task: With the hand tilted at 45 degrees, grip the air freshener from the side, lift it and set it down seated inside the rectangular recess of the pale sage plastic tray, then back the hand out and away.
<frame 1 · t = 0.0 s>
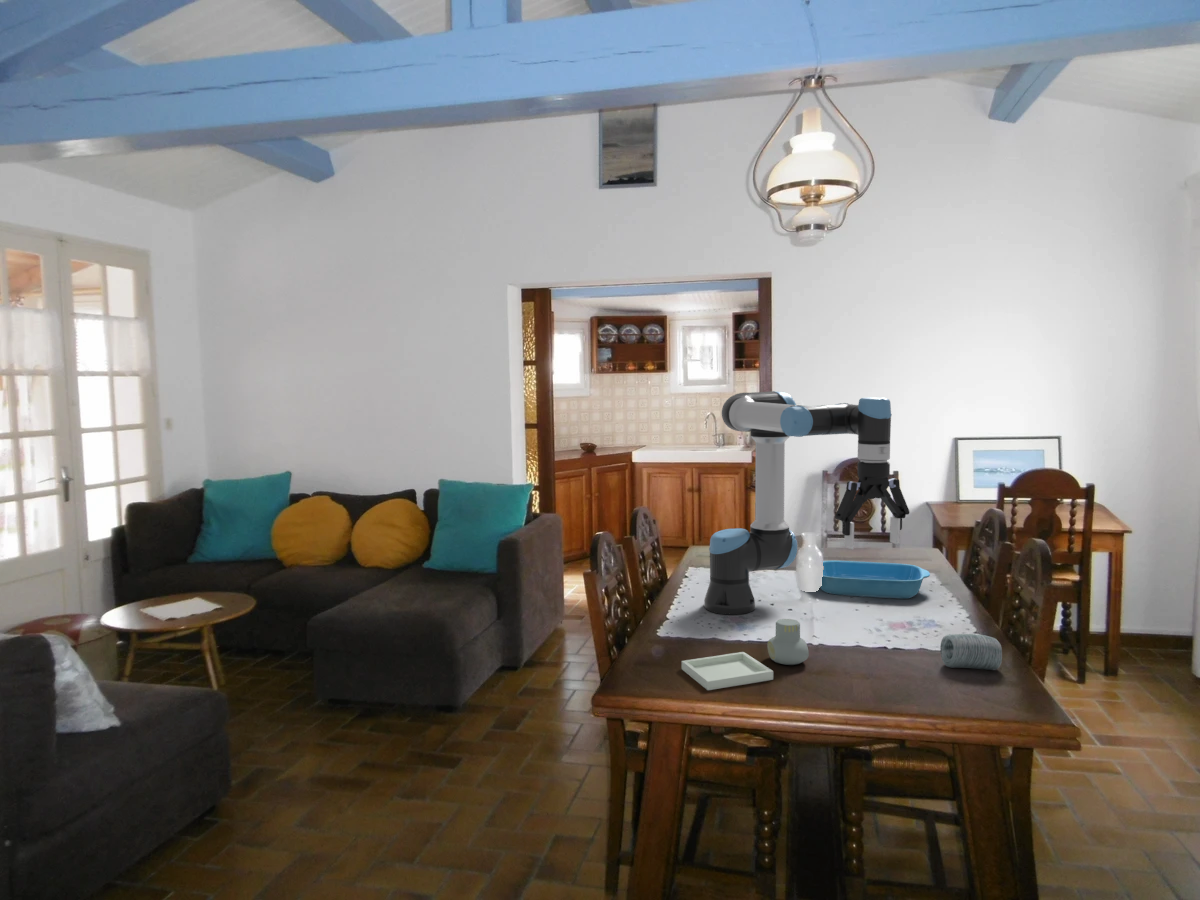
hand: (872, 545, 204), 28 cm above the table, fingers open, 13 cm apart
spool: (970, 668, 198), on the table
casserole dish: (867, 591, 266), on the table
sage tray: (726, 676, 197), on the table
air freshener: (787, 662, 204), on the table
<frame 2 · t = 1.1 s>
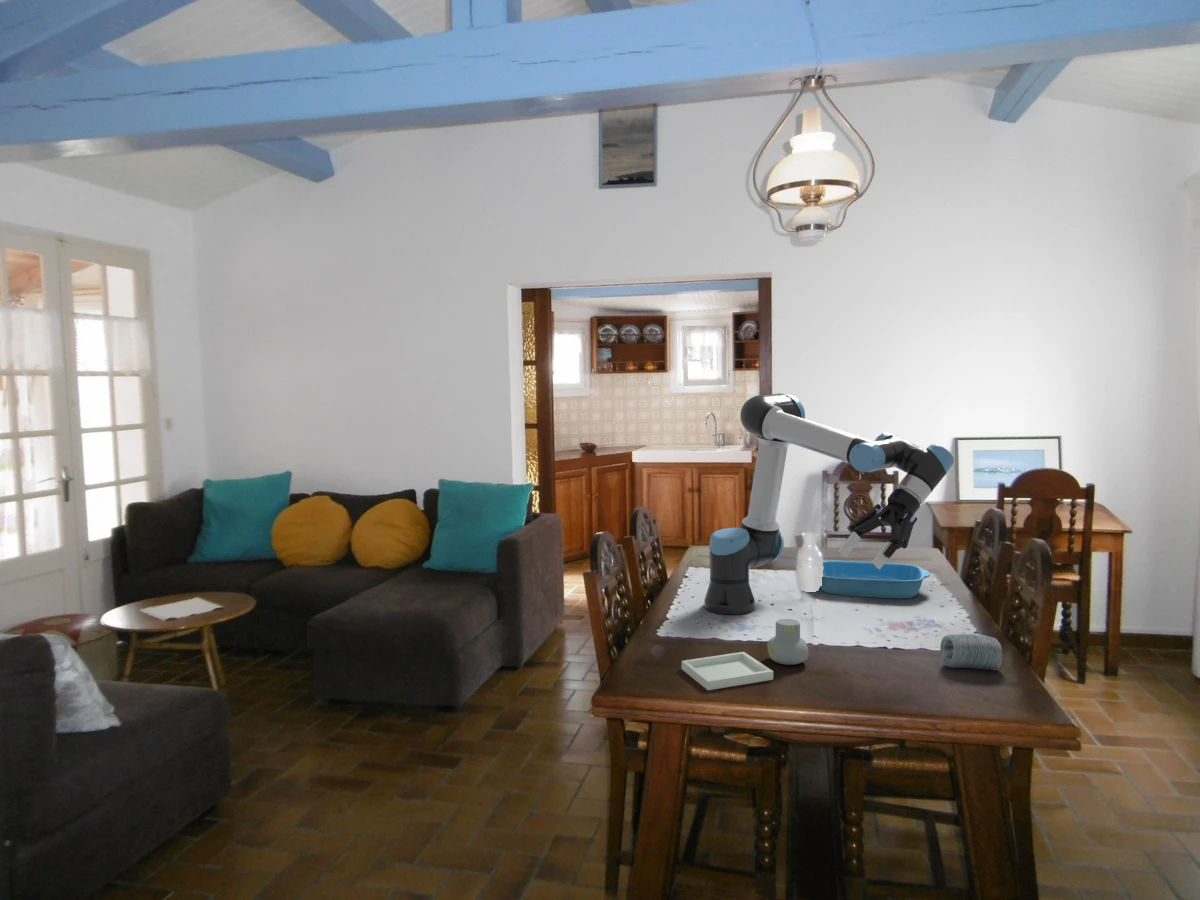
hand: (858, 559, 208), 24 cm above the table, fingers open, 13 cm apart
nothing on the table moved.
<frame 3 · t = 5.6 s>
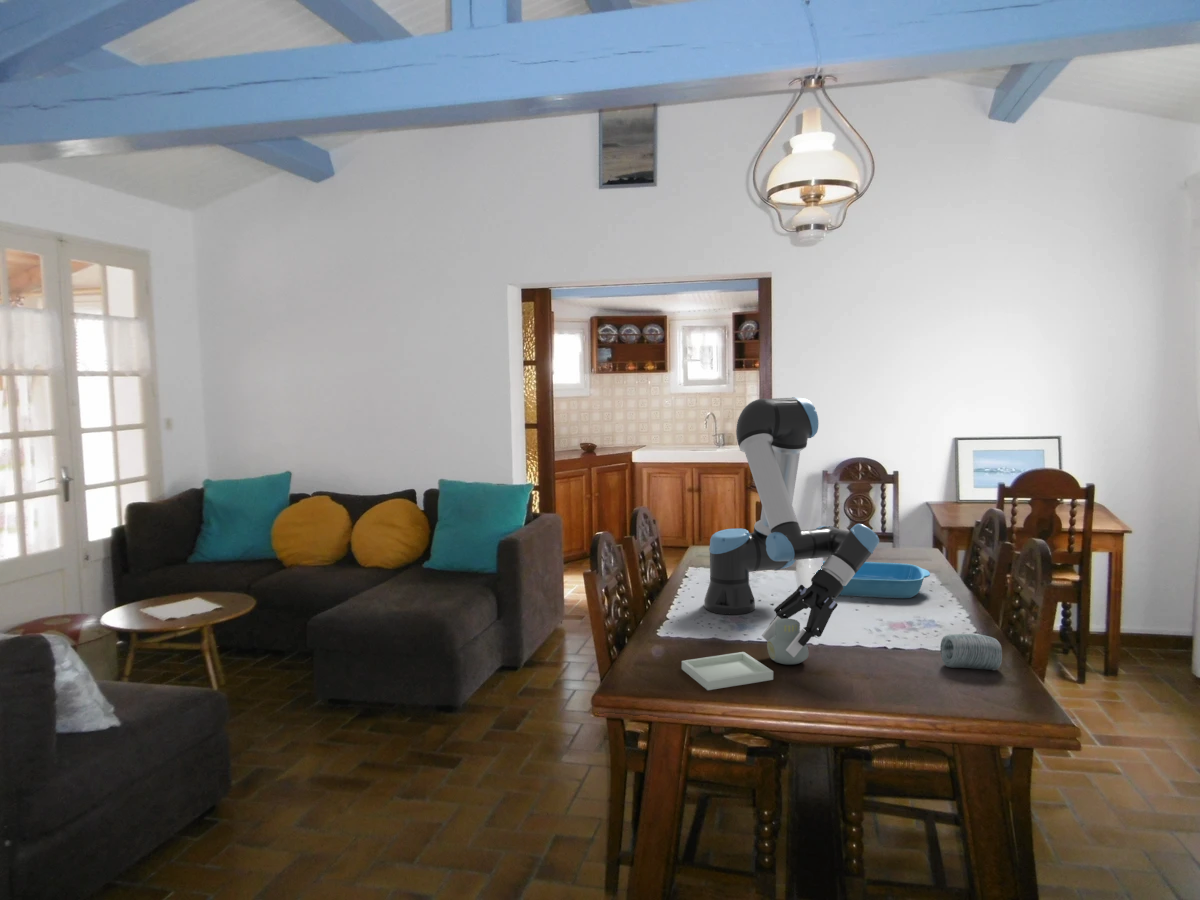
hand: (777, 646, 203), 4 cm above the table, fingers closed on air freshener, 11 cm apart
air freshener: (787, 661, 204), on the table, touching gripper
everything else where it was.
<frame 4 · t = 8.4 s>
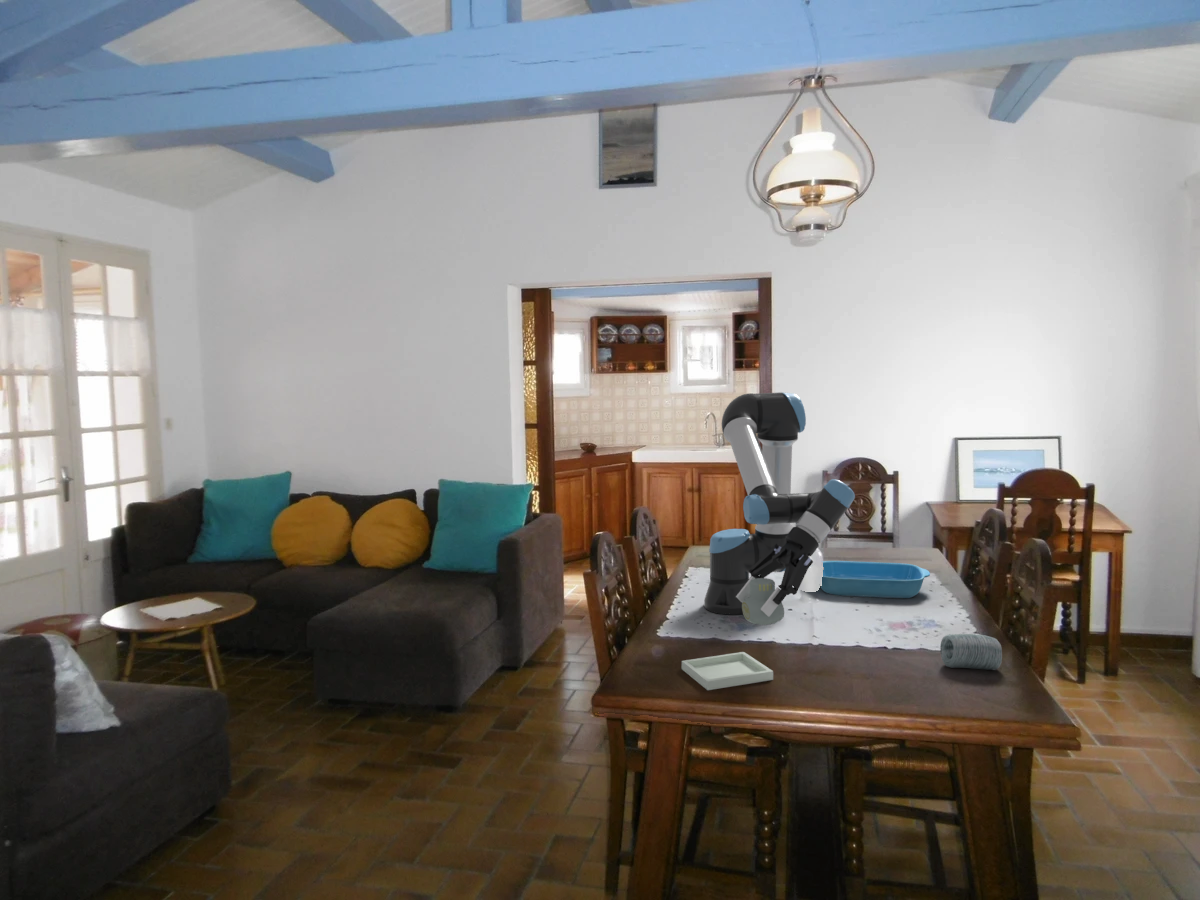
hand: (752, 606, 196), 16 cm above the table, fingers closed on air freshener, 10 cm apart
air freshener: (762, 622, 198), point 12 cm above the table, touching gripper
everything else where it was.
when the fingers open (6 cm above the table, at t = 11.4 s): air freshener drops 2 cm, resting on sage tray.
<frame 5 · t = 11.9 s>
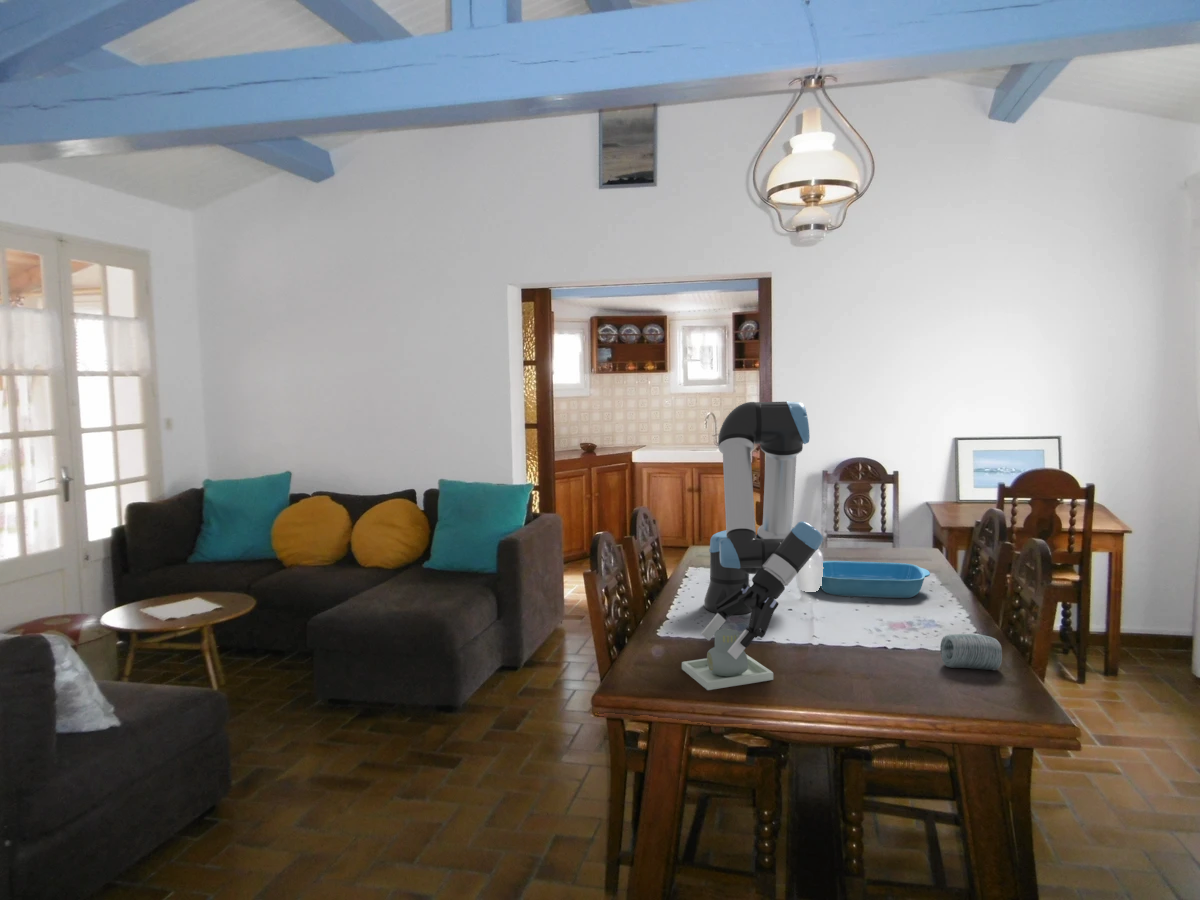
hand: (717, 646, 195), 7 cm above the table, fingers open, 13 cm apart
sage tray: (726, 677, 197), on the table, touching air freshener
air freshener: (727, 673, 197), resting on sage tray
everything else where it was.
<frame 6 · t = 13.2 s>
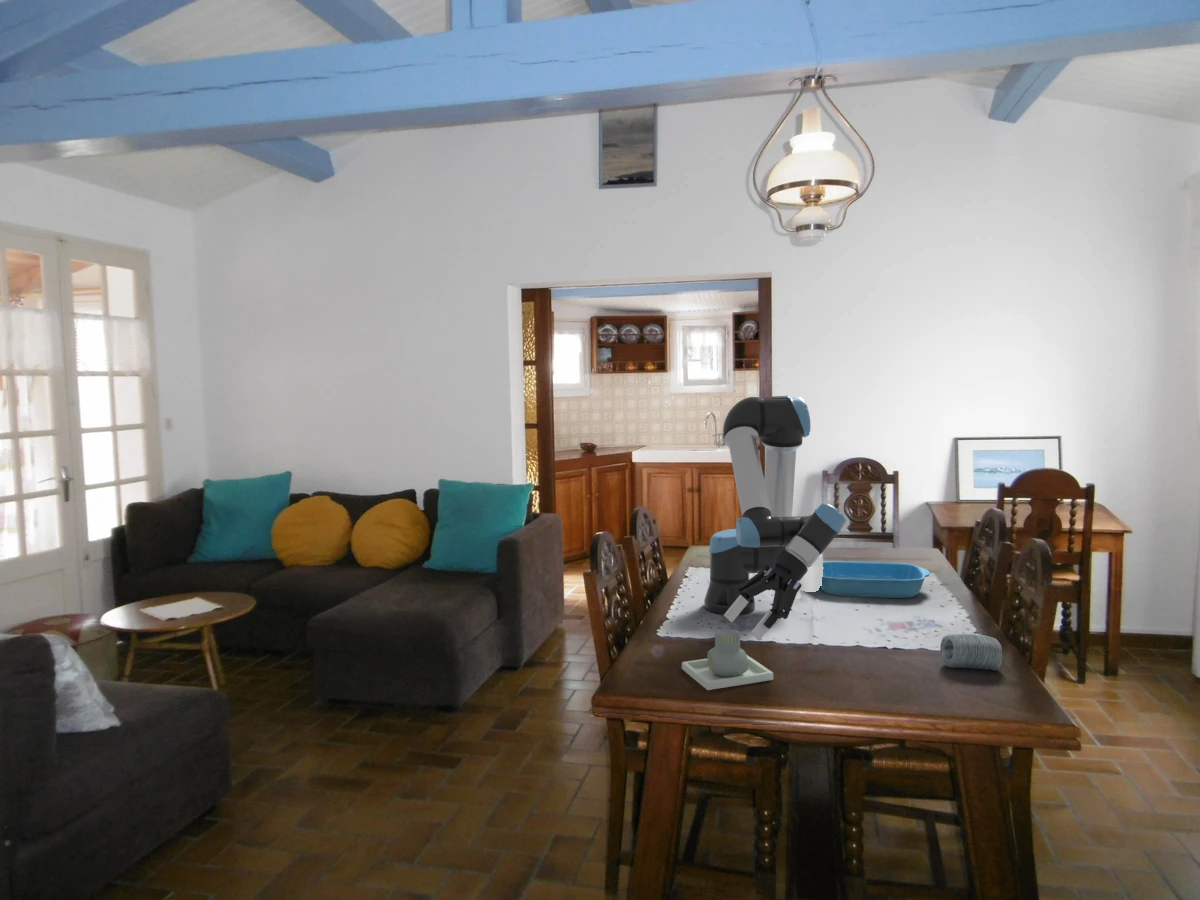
hand: (740, 627, 196), 11 cm above the table, fingers open, 13 cm apart
nothing on the table moved.
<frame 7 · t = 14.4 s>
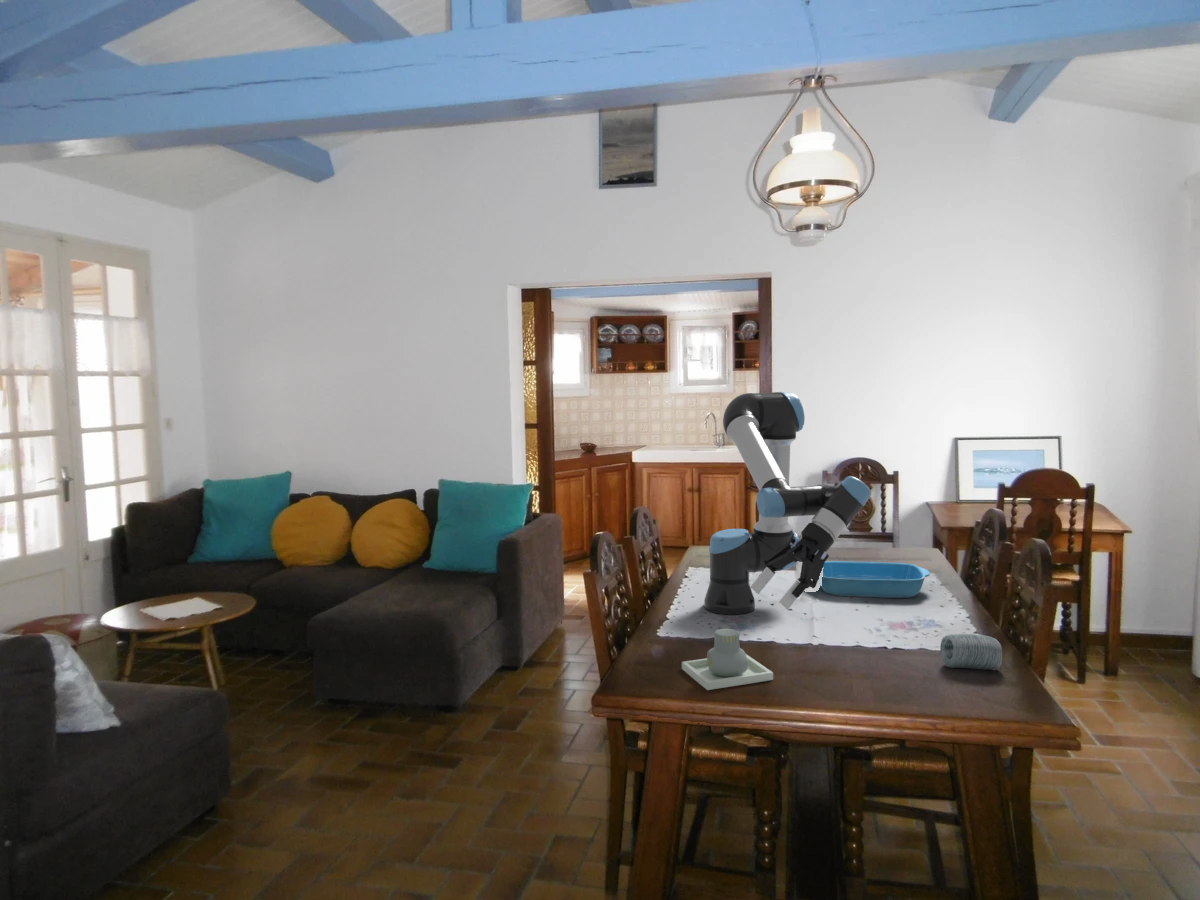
hand: (768, 598, 199), 17 cm above the table, fingers open, 13 cm apart
nothing on the table moved.
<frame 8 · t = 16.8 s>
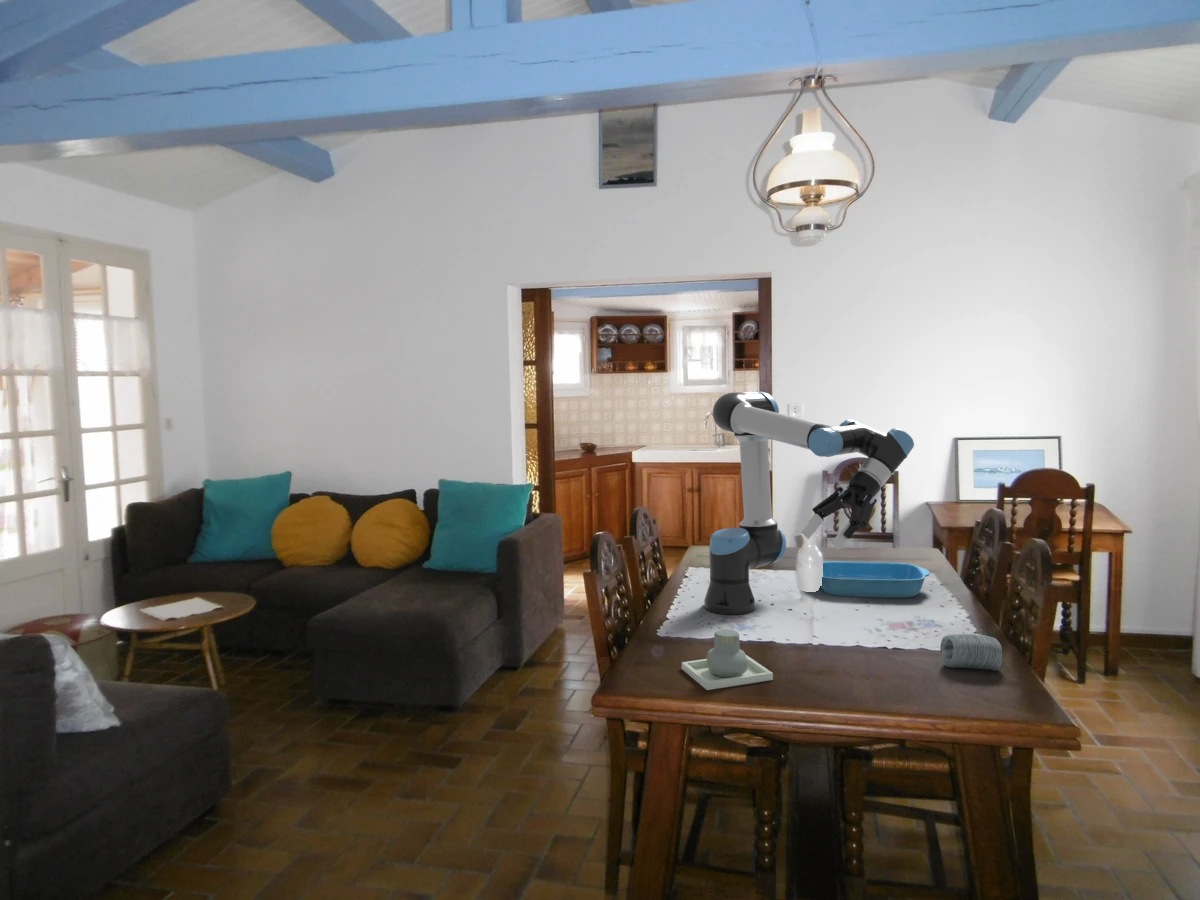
hand: (819, 540, 212), 28 cm above the table, fingers open, 13 cm apart
nothing on the table moved.
at the end: air freshener 0.1 cm off-centre on the sage tray, point 0.8 cm above the sage tray's base; air freshener tilted 1°; the gripper is holding nothing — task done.
